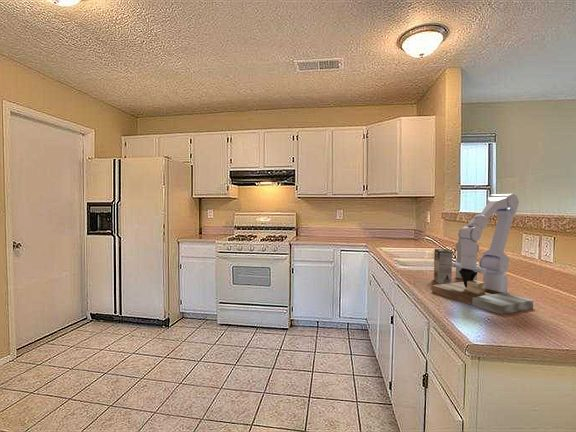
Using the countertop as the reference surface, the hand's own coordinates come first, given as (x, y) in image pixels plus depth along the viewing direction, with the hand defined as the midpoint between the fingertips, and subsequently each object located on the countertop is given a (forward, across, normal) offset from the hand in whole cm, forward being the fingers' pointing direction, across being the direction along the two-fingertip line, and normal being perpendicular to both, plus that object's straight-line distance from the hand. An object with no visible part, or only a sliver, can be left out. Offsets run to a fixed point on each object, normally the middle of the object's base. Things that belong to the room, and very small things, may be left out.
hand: (467, 287), depth 131 cm
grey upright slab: (+4, -22, +28) cm, 36 cm away
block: (+1, +4, 0) cm, 4 cm away
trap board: (+4, +5, 0) cm, 6 cm away
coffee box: (+4, -22, +11) cm, 25 cm away
